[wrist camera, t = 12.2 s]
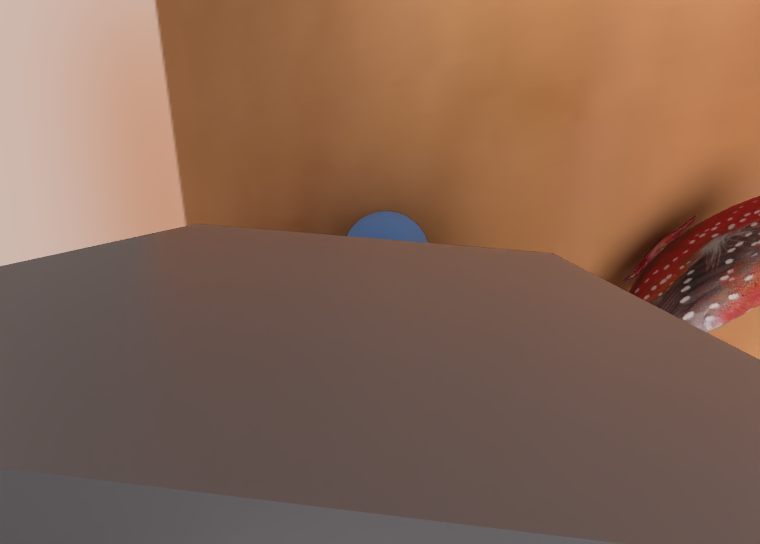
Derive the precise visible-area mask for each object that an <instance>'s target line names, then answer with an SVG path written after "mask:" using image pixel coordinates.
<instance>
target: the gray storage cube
mask: <svg viewBox="0 0 760 544" xmlns="http://www.w3.org/2000/svg"><path fill="white" fill-rule="evenodd" d="M0 544H760V360H759V359H757V358H755V357H753V356H751V355H749V354H747V353H745V352H743V351H741V350H739V349H738V348H736V347H734V346H732V345H730V344H728V343H726V342H724V341H722V340H720V339H718V338H716V337H714V336H712V335H710V334H708V333H706V332H705V331H703V330H701V329H699V328H697V327H695V326H693V325H691V324H689V323H687V322H685V321H683V320H681V319H679V318H677V317H675V316H674V315H672V314H670V313H668V312H666V311H664V310H662V309H660V308H658V307H656V306H654V305H652V304H650V303H648V302H646V301H644V300H643V299H641V298H639V297H637V296H635V295H633V294H631V293H629V292H627V291H625V290H623V289H621V288H619V287H617V286H615V285H613V284H612V283H610V282H608V281H606V280H604V279H602V278H600V277H598V276H596V275H594V274H592V273H590V272H588V271H586V270H584V269H582V268H580V267H579V266H577V265H575V264H573V263H571V262H569V261H567V260H565V259H563V258H561V257H559V256H557V255H555V254H553V253H546V252H534V251H522V250H510V249H498V248H485V247H473V246H461V245H449V244H437V243H425V242H413V241H401V240H389V239H376V238H364V237H352V236H340V235H328V234H316V233H304V232H292V231H279V230H267V229H255V228H243V227H231V226H219V225H207V224H194V225H189V226H185V227H180V228H176V229H171V230H166V231H162V232H157V233H152V234H148V235H143V236H139V237H134V238H130V239H125V240H120V241H115V242H111V243H106V244H102V245H97V246H92V247H88V248H84V249H79V250H74V251H70V252H65V253H60V254H56V255H51V256H46V257H42V258H37V259H33V260H28V261H24V262H19V263H14V264H9V265H5V266H0Z"/></svg>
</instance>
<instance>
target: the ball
mask: <svg viewBox="0 0 760 544" xmlns="http://www.w3.org/2000/svg"><path fill="white" fill-rule="evenodd" d="M347 236H352V237H364V238H376V239H389V240H401V241H413V242H425V243H428V241H427V238H426V236H425V234H424V232H423V231H422V229H421V228H420V227H419V225H418V224H416V223H415V222H414V221H413V220H412V219H411V218H409V217H407V216H405V215H403V214H401V213H397V212H393V211H380V212H375V213H371V214H369V215H367V216H365V217H363V218H362V219H360V220H359V221H358V222H357V223H355V225H354V226H353V227H352V228H351V229H350V231H349V232H348V234H347Z"/></svg>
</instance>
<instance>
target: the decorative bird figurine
mask: <svg viewBox="0 0 760 544" xmlns="http://www.w3.org/2000/svg"><path fill="white" fill-rule="evenodd" d="M695 218H696V215H695V216H694V217H693V218H692V219H690V220H689V221H688V222H687V223H685V224H684V225H683V226H681V227H680V228H679V229H678V230H677V231H675V232H673V233H670V234H668V235H666V236H665V237H664V238H662V239H661V240H660V241H659V242H658V243H657V244H656V245H655V247H654V248H653V249H652V250H651V251H650V252H649V253H648V254H647V255H646V256H645V258H644V260H643V261H642V262H641V263H640V264H638V265H637V266H636V267H635V268H634V270H633V271H634V272H635V273H634V274H632V275H631V276H628V277H627V278H625V279H624V281H626V280H629V279H631V278H633V277H636V276H638V277H637V278H636V280H635V282H634V284H633V286H632V287H631V289H630V291H629V293H631V294H633V295H635V296H637V297H639V298H641V299H643V300H644V301H646V302H648V303H650V304H652V305H654V306H656V307H658V308H660V309H662V310H664V311H666V312H668V313H670V314H672V315H674V316H675V317H677V318H679V319H681V320H683V321H685V322H687V323H689V324H691V325H693V326H695V327H697V328H699V329H701V330H703V331H705V332H706V333H709V332H711V331H713V330H716V329H717V328H719V327H721V326H723V325H725V324H727V323H729V322H730V321H732V320H734V319H736V318H738V317H739V316H741V315H743V314H745V313H747V312H748V311H750V310H752V309H754V308H755V307H757V306H759V305H760V196H758V197H755V198H752V199H750V200H747V201H745V202H742V203H740V204H737V205H735V206H732V207H730V208H728V209H726V210H724V211H721V212H720V213H718V214H716V215H714V216H712V217H710V218H708V219H706V220H705V221H703V222H701V223H699V224H698V225H696V226H694V227H693V228H691V229H689V230H688V231H687V232H685V233H684V234H682V235H681V236H680V237H679V235H680V233H681V232H682V231H683V230H684V229H685V228H686V227H688V226H689V225H690V224H691V223H692V222H693V221H694V220H695Z"/></svg>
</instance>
